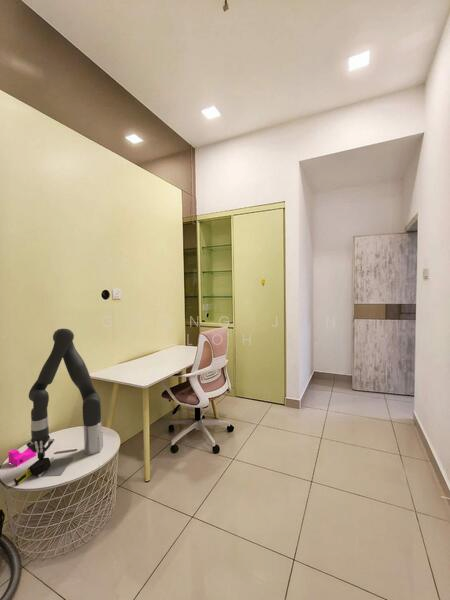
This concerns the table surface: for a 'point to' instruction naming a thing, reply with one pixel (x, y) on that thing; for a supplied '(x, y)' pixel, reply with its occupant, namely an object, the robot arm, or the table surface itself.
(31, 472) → the tape measure
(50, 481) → the table surface
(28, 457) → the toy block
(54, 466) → the mat
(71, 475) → the table surface
